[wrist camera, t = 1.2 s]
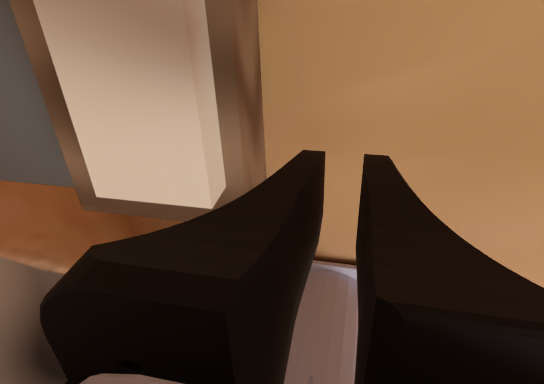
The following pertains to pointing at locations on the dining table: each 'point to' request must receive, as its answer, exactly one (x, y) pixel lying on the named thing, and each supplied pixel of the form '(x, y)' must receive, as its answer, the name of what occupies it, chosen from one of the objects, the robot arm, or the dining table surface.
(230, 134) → the deck
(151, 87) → the beige flat block
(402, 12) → the dining table surface
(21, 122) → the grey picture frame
